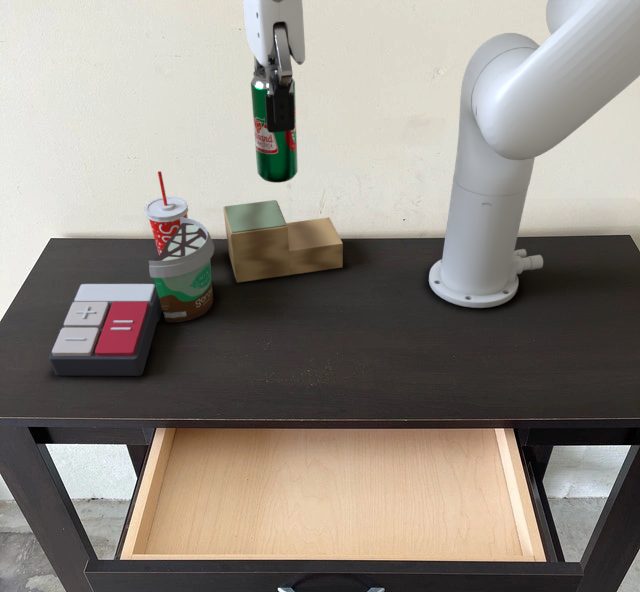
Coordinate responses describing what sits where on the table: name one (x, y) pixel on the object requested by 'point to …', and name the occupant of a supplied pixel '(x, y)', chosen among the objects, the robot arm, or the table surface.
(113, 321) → the calculator
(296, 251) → the riser
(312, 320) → the table surface
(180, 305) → the food container
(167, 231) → the beverage cup
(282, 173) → the soda can
